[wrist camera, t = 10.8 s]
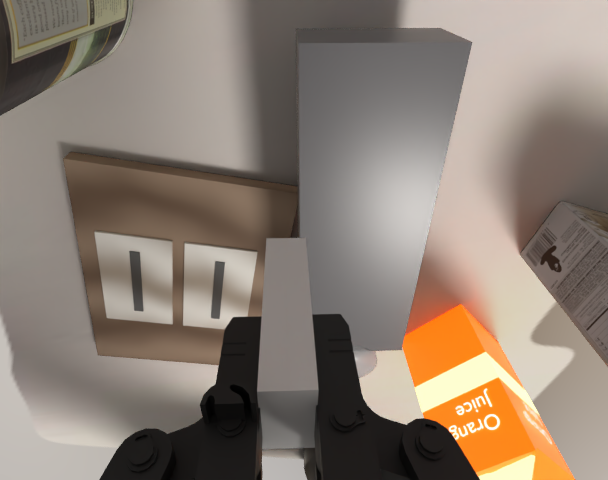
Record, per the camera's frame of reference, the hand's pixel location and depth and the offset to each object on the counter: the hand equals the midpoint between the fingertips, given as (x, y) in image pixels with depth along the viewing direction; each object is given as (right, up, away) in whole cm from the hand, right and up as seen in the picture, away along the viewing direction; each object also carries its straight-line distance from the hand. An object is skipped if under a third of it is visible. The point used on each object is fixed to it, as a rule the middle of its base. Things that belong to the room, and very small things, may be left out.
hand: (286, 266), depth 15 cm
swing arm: (+4, +2, +13) cm, 14 cm away
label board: (-6, -3, +21) cm, 22 cm away
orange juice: (+17, -10, +28) cm, 34 cm away
